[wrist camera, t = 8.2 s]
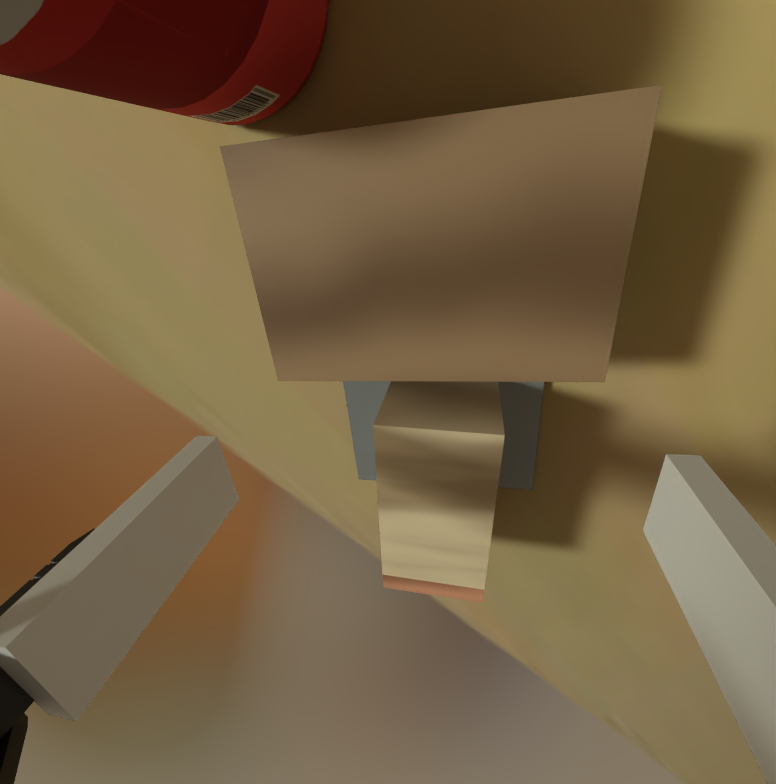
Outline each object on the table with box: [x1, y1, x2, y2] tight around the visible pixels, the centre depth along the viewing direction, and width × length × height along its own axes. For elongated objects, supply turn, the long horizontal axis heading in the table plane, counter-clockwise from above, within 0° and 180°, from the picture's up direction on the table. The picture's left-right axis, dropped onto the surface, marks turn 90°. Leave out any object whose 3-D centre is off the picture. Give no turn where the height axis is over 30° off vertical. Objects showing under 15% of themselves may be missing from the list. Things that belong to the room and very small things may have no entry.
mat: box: [343, 381, 544, 490], centre depth 21 cm, size 8×10×1 cm
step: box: [220, 85, 662, 382], centre depth 14 cm, size 8×12×5 cm, turn 95°
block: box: [373, 381, 505, 603], centre depth 19 cm, size 5×5×10 cm
